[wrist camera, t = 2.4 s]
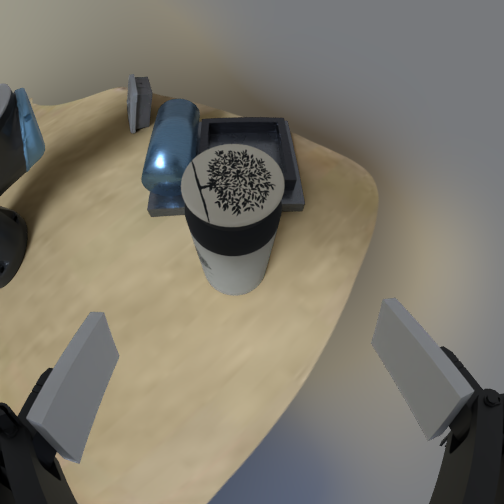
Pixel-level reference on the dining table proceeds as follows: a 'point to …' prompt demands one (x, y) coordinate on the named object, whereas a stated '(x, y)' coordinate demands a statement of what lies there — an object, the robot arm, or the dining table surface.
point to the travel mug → (233, 213)
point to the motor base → (203, 138)
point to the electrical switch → (139, 102)
